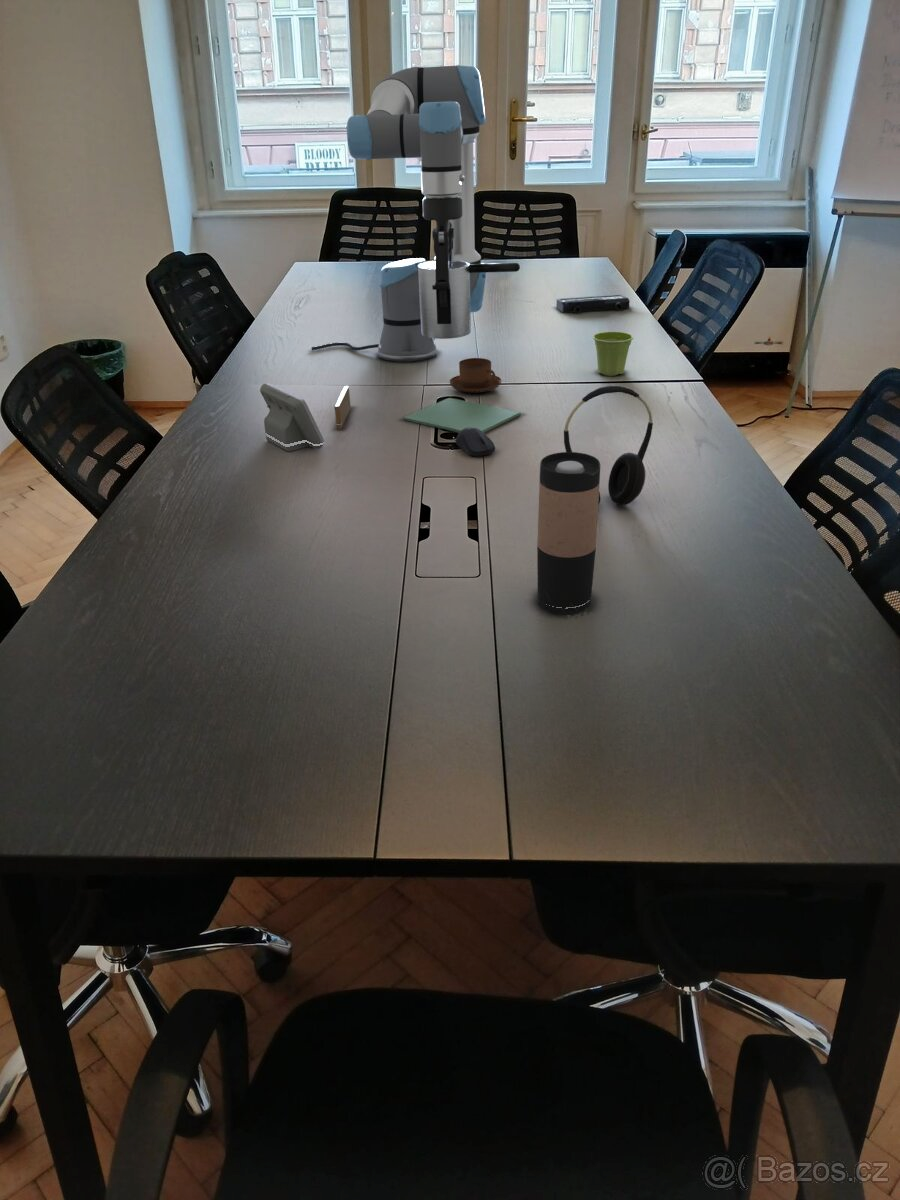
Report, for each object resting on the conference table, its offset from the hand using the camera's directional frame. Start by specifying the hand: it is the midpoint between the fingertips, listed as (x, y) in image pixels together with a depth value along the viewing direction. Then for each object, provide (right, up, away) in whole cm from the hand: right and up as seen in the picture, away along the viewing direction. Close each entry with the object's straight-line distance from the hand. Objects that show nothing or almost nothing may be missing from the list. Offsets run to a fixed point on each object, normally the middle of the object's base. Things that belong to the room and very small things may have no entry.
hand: (445, 317), depth 176 cm
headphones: (+26, -41, -30) cm, 57 cm away
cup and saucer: (+7, -8, +28) cm, 30 cm away
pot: (-6, -2, +2) cm, 6 cm away
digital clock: (-30, -25, +1) cm, 39 cm away
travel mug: (+16, -57, -57) cm, 82 cm away
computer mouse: (+6, -28, -6) cm, 29 cm away
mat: (+3, -18, +10) cm, 21 cm away
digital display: (+45, +33, +96) cm, 112 cm away
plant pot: (+40, -2, +36) cm, 54 cm away
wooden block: (-22, -18, +12) cm, 31 cm away
